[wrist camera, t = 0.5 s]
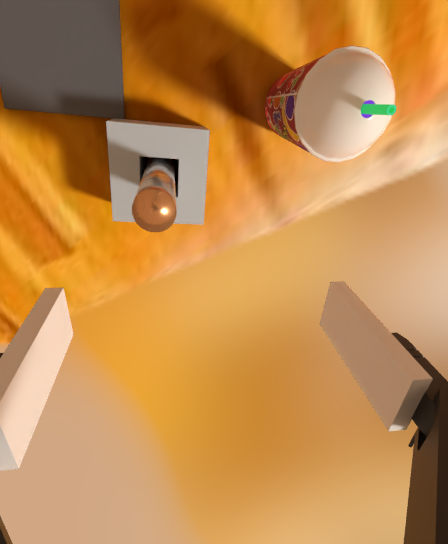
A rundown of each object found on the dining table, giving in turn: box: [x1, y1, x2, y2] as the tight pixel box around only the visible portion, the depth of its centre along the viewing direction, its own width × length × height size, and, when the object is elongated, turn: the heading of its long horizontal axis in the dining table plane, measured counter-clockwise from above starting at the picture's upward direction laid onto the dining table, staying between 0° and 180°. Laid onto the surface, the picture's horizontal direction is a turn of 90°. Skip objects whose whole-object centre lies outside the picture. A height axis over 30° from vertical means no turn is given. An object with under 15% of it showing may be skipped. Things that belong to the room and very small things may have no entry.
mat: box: [0, 0, 125, 119], centre depth 32 cm, size 12×12×1 cm
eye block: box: [106, 118, 210, 225], centre depth 36 cm, size 10×10×6 cm
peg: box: [132, 157, 177, 232], centre depth 31 cm, size 3×3×18 cm
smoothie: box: [265, 45, 396, 162], centre depth 29 cm, size 8×8×20 cm
